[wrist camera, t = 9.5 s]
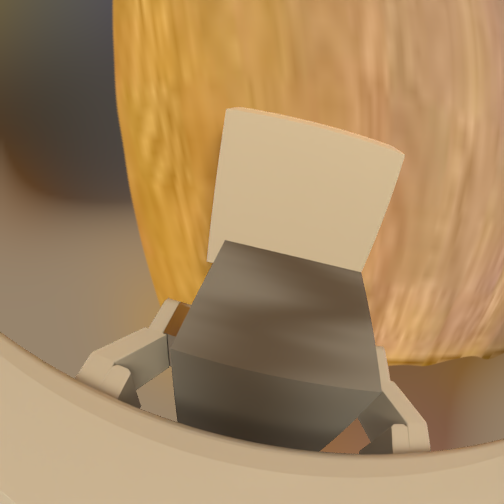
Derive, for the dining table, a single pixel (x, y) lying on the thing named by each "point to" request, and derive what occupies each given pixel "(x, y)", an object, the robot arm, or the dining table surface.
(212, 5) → the dining table surface
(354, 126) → the dining table surface
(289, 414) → the slate cube
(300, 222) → the cream block
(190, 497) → the robot arm
